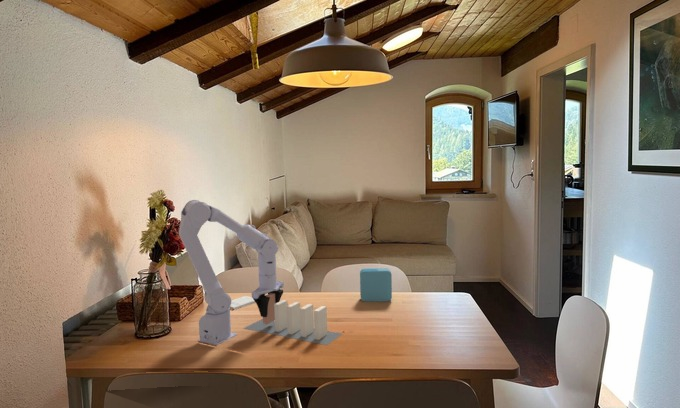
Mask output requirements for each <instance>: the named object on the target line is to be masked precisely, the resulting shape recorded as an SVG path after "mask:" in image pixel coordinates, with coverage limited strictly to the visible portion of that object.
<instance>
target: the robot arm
mask: <svg viewBox="0 0 680 408" xmlns="http://www.w3.org/2000/svg"><path fill="white" fill-rule="evenodd" d="M180 216H181V217H180V223H179V229H178V236H179V237H180V240H181V242H182V244H183V247H184V248H185V251H186V252H187V255H188V257H189V260H190V262H191V263H192V266H193V268H194V270H195V272H196V274H197V276H198V278H199V280H200V283H201V285H202V290H203V291H204V300H205V303H206V304H208V305H207V306H206V308H205V314H204V315H202V316H201V317H200V318H199V322H198V330H199V333H198V334H199V338H198V339H197V341H198V342H202V343H206V344H209V345H214V346H218V345H220V344H221V343H224V342H226V341H228V340H229V339H232V338H234V337H236V336H238V333H237V332H236V333H235V332H232V323H231V309H230V306H231V300H232V298H231V296H230V295H229V294H228V293H227V292H225V291H224V289H223V287H222V285H221V283H220V281H219V280H218V278H217V276H216V274H215V271H214V269H213V267H212V265H211V263H210V260H209V258H208V256H207V254H206V252H205V249H204V248H203V245H202V243H201V240H200V238H199V236H198V234H199V232H200V230H201V228H202V227H203V225H205V223H207V222H209V223H218V224H220V225H222V226H223V227H225V228H227V229H228V230H230V231H232V232H234V233H235V234H236V236H237V239H238V240H239V241H241V242H242V243H243V244H245V245H246V246H248V247H249V248H251V249H253V250H255V251H256V253H257V255H258V256H257V257H258V258H257V259H258V260H257V263H258V264H257V266H258V267H257V268H258V287H257V288H256V289H255V290H253V291H252V292H251V297H252V298H253V299H254V301H255V302H256V303H255V304H256V306H257V309H258V312H259V314H260V317H261V318H263V317H267V314H268V303H269V299H270V297H266V296H265V295H268V294H270V293H275V304H276V303H278V302H280V301H281V299H282V296H283V294H284V290H283V288H284V287H285V286H284V281H278V280H277V259H276V255H277V253H278V250H279V246H278V244H277V241H275V240H274V239H272V238H270V237H268V234H267V233H265V232H263V233H262V232H261V231H259V230H258V229H256V226H255V225H253V224H241V223H239V222H238V221H237V220H235V219H234V218H232V217H231V216H230V215H228V214H227V213H225V212H224V211H222V210H221V209H220V208H219V209H218V208H216V207H214V206H212V205H210V204H207V203H206V202H203V201H200V200H198V199H191V200H189V201H188V202H186V203H185V205H184V206H183V208H182V210H181V211H180Z"/></svg>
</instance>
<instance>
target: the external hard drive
mask: <svg viewBox="0 0 680 408" xmlns="http://www.w3.org/2000/svg"><path fill="white" fill-rule="evenodd" d="M252 303H253V304H256V303H255V301H254V299H253V298H252V296H248V295H243V296H241V297H237V298H234V299H231V306H230V310H233V309H235V310H237V308H238V309H241V308H244V307H248V306H249V305H252ZM240 307H241V308H240Z"/></svg>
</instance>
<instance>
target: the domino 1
mask: <svg viewBox="0 0 680 408" xmlns="http://www.w3.org/2000/svg"><path fill="white" fill-rule="evenodd" d="M265 296H266V297H270V299H269V303H268V314H267V317H262V319H263V324H269V323H271V322H273V321H275V311H274V304H275V293H270V294H268V293H267V294H265Z"/></svg>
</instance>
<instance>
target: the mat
mask: <svg viewBox="0 0 680 408" xmlns="http://www.w3.org/2000/svg"><path fill="white" fill-rule="evenodd" d="M243 329H245V330H250V331H255V332H259V333H264V334H270V335H273V336H278V337H284V338H287V339H288V338H289V339H292V340H293V339H294V340H299V341H303V342H308V343H314V344H319V345H323V346H328V345H329V344H331V343H332V342H334V341H335V340H336V339H339V337H341V336H343V333H339V332H335V331H329V330H327V335H326V336H324V337H323V338H321V339H320V340H317V339H315V336H314V332H313V333H311V334H310V335H308V336H306V337H302V336H301V330H299V331H297V332H296V333H294V334H288V327H287V328H286V329H284V330H282V331H280V332H277V331H275V321H273V322H271V323H269V324H263V318H262V319H259V320H257V321H255V322H253V323H252V324H249V325H247V326H245V327H244V328H243Z"/></svg>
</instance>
